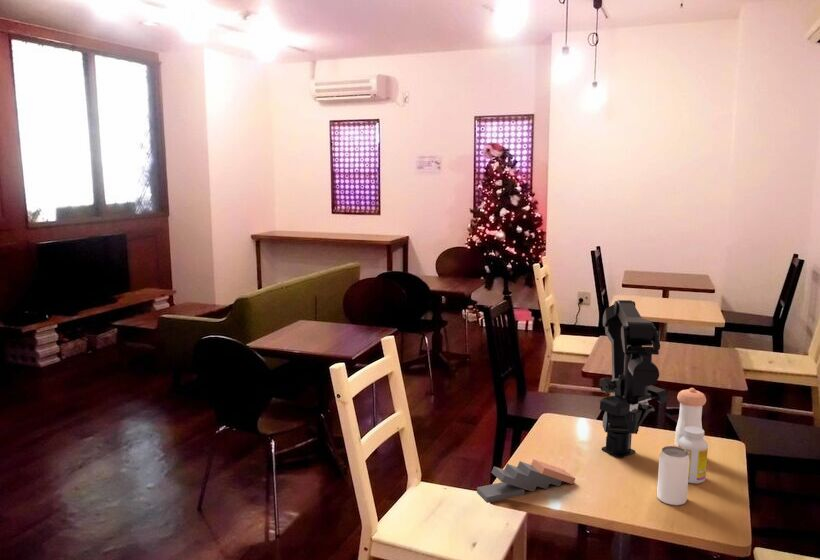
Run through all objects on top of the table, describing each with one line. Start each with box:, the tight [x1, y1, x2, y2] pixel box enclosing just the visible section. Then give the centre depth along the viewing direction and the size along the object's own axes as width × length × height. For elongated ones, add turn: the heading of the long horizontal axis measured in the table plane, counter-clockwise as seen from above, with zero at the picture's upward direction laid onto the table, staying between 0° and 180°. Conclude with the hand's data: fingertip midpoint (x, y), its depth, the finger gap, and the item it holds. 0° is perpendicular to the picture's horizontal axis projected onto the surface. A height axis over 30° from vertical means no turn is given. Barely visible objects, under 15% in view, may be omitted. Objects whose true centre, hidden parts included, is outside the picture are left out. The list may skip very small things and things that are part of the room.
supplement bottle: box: [678, 426, 709, 485], centre depth 161 cm, size 7×7×13 cm
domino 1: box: [476, 481, 525, 503], centre depth 154 cm, size 2×5×10 cm
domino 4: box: [516, 461, 563, 487], centre depth 158 cm, size 2×5×10 cm
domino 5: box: [530, 459, 576, 485], centre depth 159 cm, size 2×5×10 cm
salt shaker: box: [672, 387, 707, 447], centre depth 172 cm, size 7×7×19 cm
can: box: [656, 445, 689, 507], centre depth 151 cm, size 6×6×12 cm
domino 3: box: [503, 463, 551, 490], centre depth 157 cm, size 2×5×10 cm
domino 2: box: [490, 466, 538, 493], centre depth 155 cm, size 2×5×10 cm
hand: (632, 433), depth 160 cm, fingers closed
